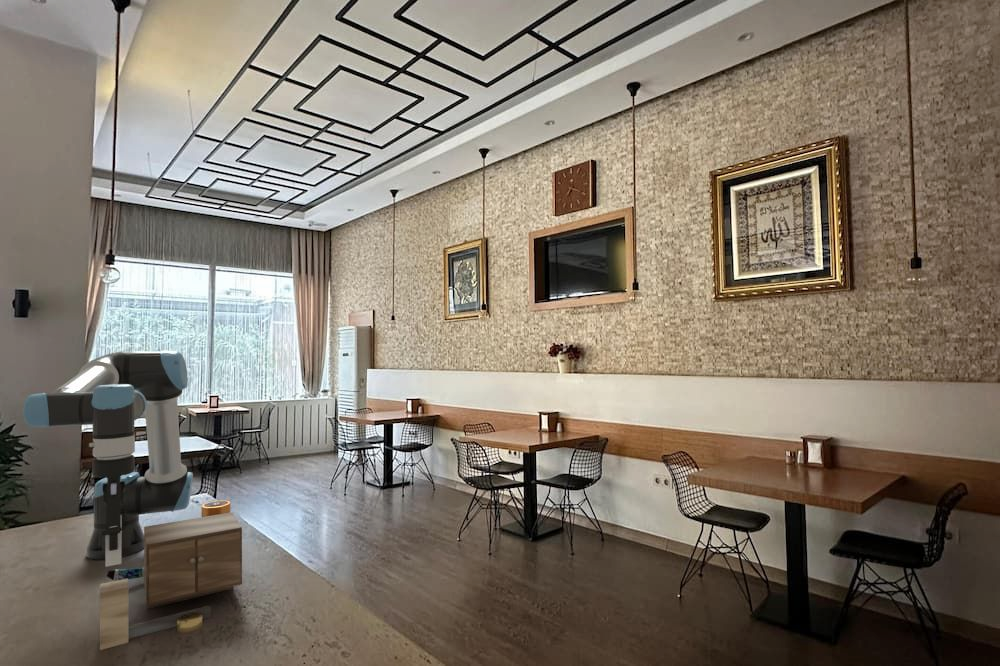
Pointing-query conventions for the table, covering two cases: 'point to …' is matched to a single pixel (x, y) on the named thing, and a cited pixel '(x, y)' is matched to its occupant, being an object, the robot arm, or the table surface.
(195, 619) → the token
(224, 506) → the battery
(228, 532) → the cabinet
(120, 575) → the knife
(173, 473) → the robot arm
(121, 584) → the blade tool
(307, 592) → the table surface
